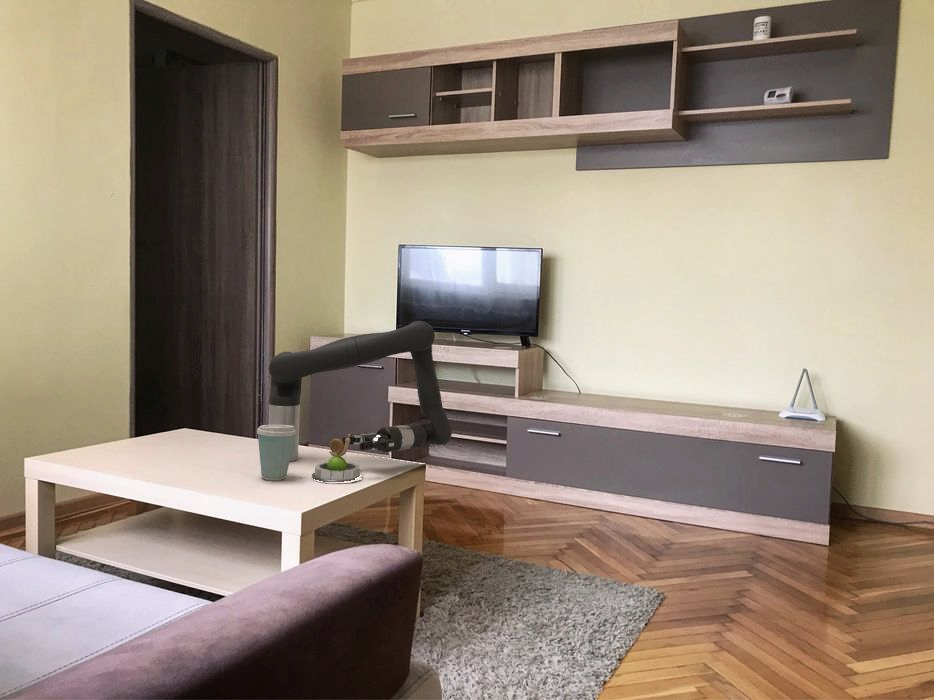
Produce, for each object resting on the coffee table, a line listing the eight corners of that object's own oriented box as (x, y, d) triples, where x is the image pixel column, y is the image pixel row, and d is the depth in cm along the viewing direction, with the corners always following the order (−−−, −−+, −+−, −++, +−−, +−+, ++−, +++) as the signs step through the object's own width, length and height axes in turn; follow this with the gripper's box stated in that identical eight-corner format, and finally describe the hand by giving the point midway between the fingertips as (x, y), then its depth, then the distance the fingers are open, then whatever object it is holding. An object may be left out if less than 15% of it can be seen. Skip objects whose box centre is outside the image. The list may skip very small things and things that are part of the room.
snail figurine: (344, 478, 208) (346, 435, 207) (323, 475, 210) (325, 433, 209) (352, 474, 213) (354, 432, 213) (331, 471, 215) (333, 430, 214)
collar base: (310, 483, 204) (311, 471, 203) (313, 471, 217) (313, 460, 217) (362, 484, 206) (363, 472, 206) (361, 472, 220) (362, 461, 219)
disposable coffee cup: (249, 475, 209) (250, 422, 208) (285, 472, 215) (287, 420, 214) (263, 484, 201) (265, 428, 200) (301, 480, 207) (303, 426, 206)
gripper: (381, 422, 230) (337, 427, 219) (411, 429, 220) (366, 434, 209) (380, 446, 231) (336, 452, 219) (410, 455, 221) (365, 461, 209)
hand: (351, 443), depth 214 cm, fingers open, 8 cm apart
